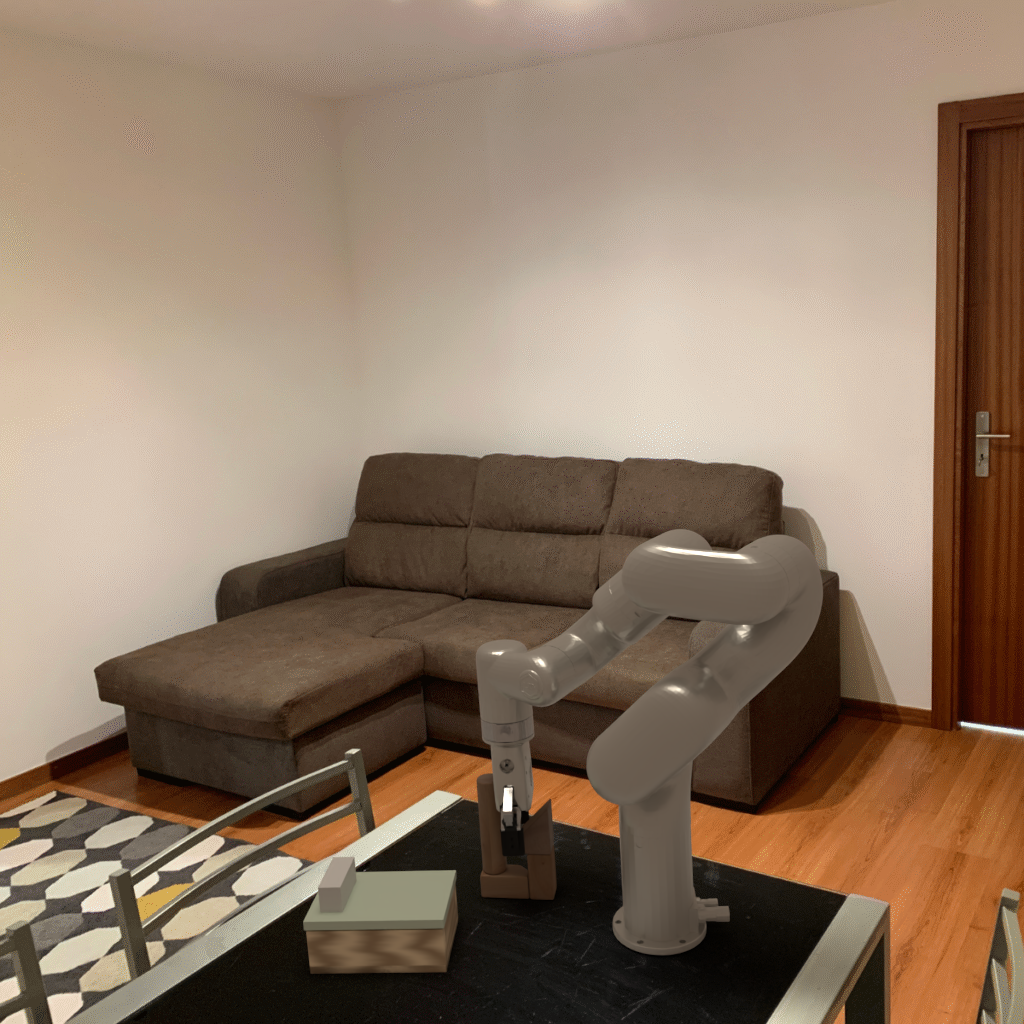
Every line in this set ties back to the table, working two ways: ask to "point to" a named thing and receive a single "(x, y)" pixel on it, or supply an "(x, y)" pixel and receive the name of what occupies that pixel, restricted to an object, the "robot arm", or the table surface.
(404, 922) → the lid
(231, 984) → the table surface
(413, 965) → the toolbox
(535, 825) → the wooden pieces
